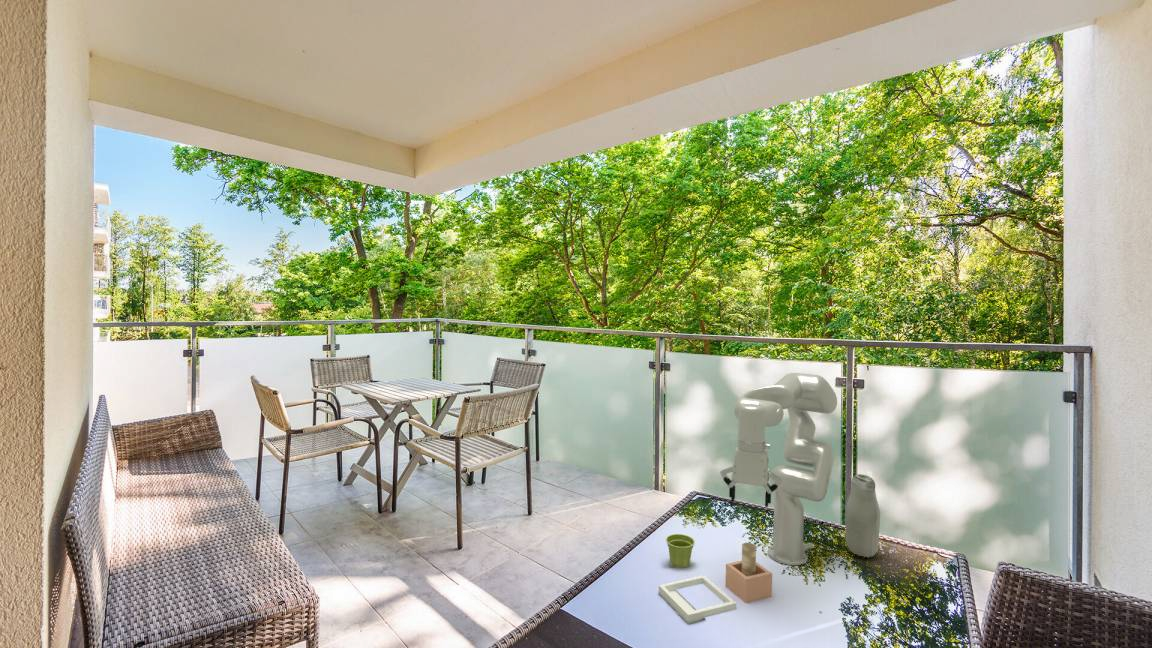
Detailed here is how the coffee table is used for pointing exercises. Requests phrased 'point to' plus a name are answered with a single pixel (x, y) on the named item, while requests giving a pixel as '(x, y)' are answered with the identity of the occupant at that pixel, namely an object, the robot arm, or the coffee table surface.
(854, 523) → the grey bottle
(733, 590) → the terracotta cup
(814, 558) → the coffee table surface
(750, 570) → the birch dowel
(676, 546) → the plant pot
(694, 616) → the cream tray
